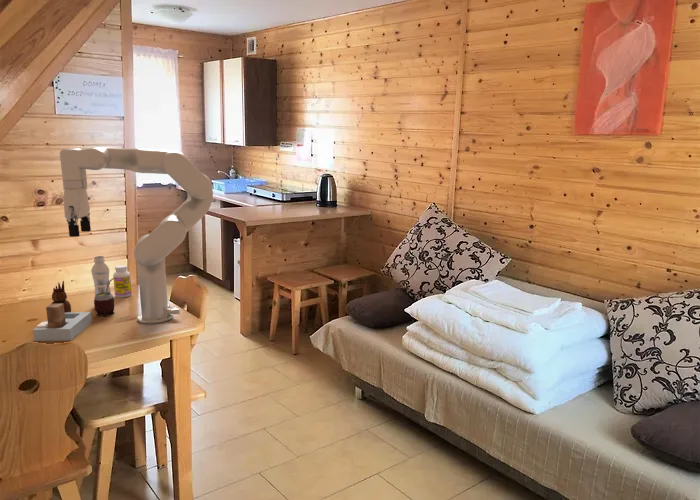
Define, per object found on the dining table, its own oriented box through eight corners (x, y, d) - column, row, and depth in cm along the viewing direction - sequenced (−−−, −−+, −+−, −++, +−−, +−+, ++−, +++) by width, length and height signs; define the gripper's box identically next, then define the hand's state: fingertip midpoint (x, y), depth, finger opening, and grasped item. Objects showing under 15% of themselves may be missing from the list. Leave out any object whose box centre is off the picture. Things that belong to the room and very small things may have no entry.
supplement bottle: (113, 298, 237) (111, 268, 235) (116, 294, 244) (113, 264, 241) (130, 297, 239) (128, 267, 236) (132, 293, 245) (130, 264, 243)
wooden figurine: (74, 317, 213) (70, 279, 210) (68, 322, 208) (63, 283, 205) (56, 318, 213) (51, 279, 210) (49, 323, 207) (44, 283, 204)
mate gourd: (95, 312, 219) (92, 275, 216) (117, 310, 222) (114, 273, 219) (94, 318, 212) (90, 279, 209) (117, 316, 215) (114, 277, 212)
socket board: (92, 322, 208) (90, 310, 207) (71, 340, 191) (69, 327, 190) (58, 323, 208) (57, 311, 207) (34, 341, 190) (32, 328, 189)
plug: (66, 331, 196) (63, 303, 194) (61, 335, 192) (58, 307, 190) (54, 331, 196) (51, 303, 194) (49, 335, 192) (46, 307, 190)
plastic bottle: (108, 308, 224) (104, 259, 220) (91, 308, 224) (86, 258, 220) (115, 303, 231) (111, 255, 226) (99, 303, 231) (94, 255, 226)
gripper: (74, 182, 204) (79, 229, 207) (52, 187, 187) (58, 238, 191) (96, 182, 204) (100, 229, 208) (75, 187, 187) (81, 238, 191)
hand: (80, 233), depth 199 cm, fingers open, 9 cm apart
